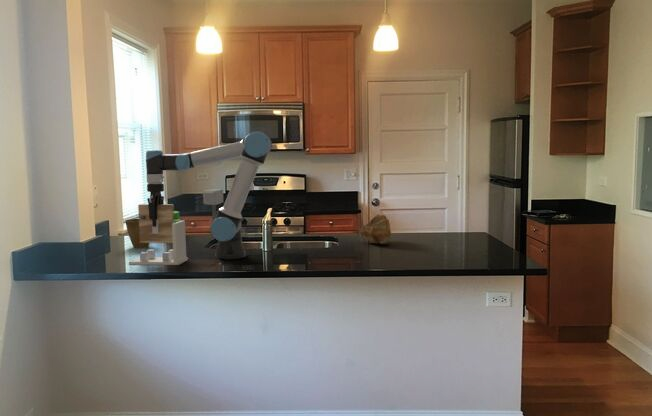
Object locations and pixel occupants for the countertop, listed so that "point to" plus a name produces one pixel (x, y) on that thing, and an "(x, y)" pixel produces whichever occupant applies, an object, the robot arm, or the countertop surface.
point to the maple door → (164, 224)
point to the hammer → (213, 199)
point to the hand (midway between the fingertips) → (157, 232)
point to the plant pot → (135, 233)
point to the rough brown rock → (377, 230)
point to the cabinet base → (176, 248)
